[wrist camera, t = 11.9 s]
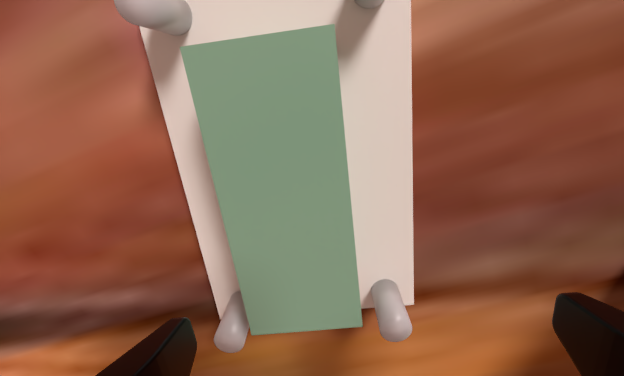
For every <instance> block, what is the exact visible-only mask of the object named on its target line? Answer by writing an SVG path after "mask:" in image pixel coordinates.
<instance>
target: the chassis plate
mask: <svg viewBox="0 0 624 376" xmlns="http://www.w3.org/2000/svg"><path fill="white" fill-rule="evenodd" d="M114 3H115V6H116V8H117V10H118V12H119V13H120V15H121V16H122V17H123V18H124V19H125V20H126V21H128V22H129V23H131V24H134V25H138V26H139V27H140V31H141V35H142V38H143V42H144V45H145V49H146V53H147V56H148V60H149V64H150V67H151V71H152V74H153V78H154V82H155V85H156V89H157V92H158V96H159V100H160V103H161V107H162V111H163V114H164V118H165V121H166V125H167V129H168V132H169V136H170V140H171V143H172V147H173V150H174V154H175V158H176V161H177V165H178V168H179V172H180V176H181V179H182V183H183V187H184V190H185V194H186V197H187V201H188V205H189V208H190V212H191V216H192V219H193V223H194V226H195V230H196V234H197V237H198V241H199V244H200V248H201V252H202V255H203V259H204V263H205V266H206V270H207V273H208V277H209V281H210V284H211V288H212V291H213V295H214V299H215V302H216V306H217V310H218V313H219V317H220V319H221V321H220V324H219V326H218V329H217V331H216V334H215V336H214V343H215V345H216V347H217V348H219V349H220V350H221V351H224V352H227V353H235V352H238V351H240V350H241V349H242V348H243V346H244V343H245V340H246V336H247V333H248V329H249V323H248V319H247V315H246V311H245V307H244V303H243V299H242V295H241V291H240V287H239V283H238V279H237V275H236V271H235V267H234V263H233V259H232V255H231V251H230V247H229V243H228V239H227V235H226V231H225V227H224V223H223V219H222V215H221V211H220V207H219V203H218V199H217V195H216V191H215V187H214V183H213V179H212V175H211V171H210V167H209V163H208V159H207V155H206V151H205V147H204V143H203V139H202V135H201V131H200V127H199V123H198V119H197V115H196V111H195V107H194V103H193V99H192V95H191V91H190V87H189V83H188V79H187V75H186V71H185V67H184V63H183V59H182V55H181V51H180V47H182V46H189V45H195V44H202V43H209V42H216V41H222V40H229V39H236V38H242V37H249V36H256V35H263V34H269V33H276V32H283V31H290V30H296V29H303V28H310V27H316V26H323V25H330V24H335V34H336V45H337V56H338V67H339V77H340V88H341V99H342V110H343V120H344V131H345V142H346V153H347V163H348V174H349V185H350V196H351V206H352V217H353V228H354V239H355V249H356V260H357V271H358V282H359V292H360V303H361V309H362V308H375V311H376V316H377V320H378V325H379V329H380V333H381V335H382V337H383V338H385V339H386V340H388V341H392V342H399V341H402V340H405V339H406V338H408V337H409V336H410V334H411V332H412V325H411V322H410V319H409V316H408V314H407V311H406V308H405V305H414V267H413V168H412V69H411V0H114Z"/></svg>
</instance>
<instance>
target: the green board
mask: <svg viewBox="0 0 624 376" xmlns="http://www.w3.org/2000/svg"><path fill="white" fill-rule="evenodd" d="M180 51H181V55H182V59H183V63H184V67H185V71H186V75H187V79H188V83H189V87H190V91H191V95H192V99H193V103H194V107H195V111H196V115H197V119H198V123H199V127H200V131H201V135H202V139H203V143H204V147H205V151H206V155H207V159H208V163H209V167H210V171H211V175H212V179H213V183H214V187H215V191H216V195H217V199H218V203H219V207H220V211H221V215H222V219H223V223H224V227H225V231H226V235H227V239H228V243H229V247H230V251H231V255H232V259H233V263H234V267H235V271H236V275H237V279H238V283H239V287H240V291H241V295H242V299H243V303H244V307H245V311H246V315H247V319H248V323H249V327H250V331H251V335H264V334H276V333H289V332H302V331H315V330H327V329H340V328H353V327H363V325H362V314H361V303H360V292H359V282H358V271H357V260H356V249H355V239H354V228H353V217H352V206H351V196H350V185H349V174H348V163H347V153H346V142H345V131H344V120H343V110H342V99H341V88H340V77H339V67H338V56H337V45H336V34H335V24H330V25H323V26H316V27H310V28H303V29H296V30H290V31H283V32H276V33H269V34H263V35H256V36H249V37H242V38H236V39H229V40H222V41H216V42H209V43H202V44H195V45H189V46H182V47H180Z"/></svg>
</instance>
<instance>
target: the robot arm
mask: <svg viewBox="0 0 624 376" xmlns="http://www.w3.org/2000/svg"><path fill="white" fill-rule="evenodd" d="M552 325H553V328H554V331H555V333H556V335H557V336H558V338H559V339H560V341H561V343H562V344H563V346H564V348H565V349H566V351H567V353H568V354H569V356H570V358H571V359H572V361H573V363H574V364H575V366H576V367H577V369H578V371H579V372H580V374H581V376H624V312H623V311H621V310H619V309H616V308H614V307H612V306H609V305H607V304H605V303H602V302H600V301H598V300H595V299H593V298H591V297H589V296H586V295H584V294H581V293H577V292H574V293H561V294H559V295H558V296H557V297H556V302H555V307H554V313H553V319H552ZM196 350H197V342H196V338H195V335H194V332H193V328H192V325H191V322H190V320H189V319H188V318H186V317H182V318H172V319H170V320H169V321H167V322H166V323H165V324H163V325H162V326H161V327H159V328H158V329H157V330H155V331H154V332H153V333H151V334H150V335H149V336H147V337H146V338H145V339H144V340H142V341H141V342H140V343H138V344H137V345H136V346H134V347H133V348H132V349H130V350H129V351H128V352H126V353H125V354H124V355H122V356H121V357H120V358H118V359H117V360H116V361H114V362H113V363H112V364H110V365H109V366H108V367H106V368H105V369H104V370H102V371H101V372H100V373H98V374H97V375H96V376H190V372H191V369H192V365H193V361H194V358H195V354H196Z"/></svg>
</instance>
